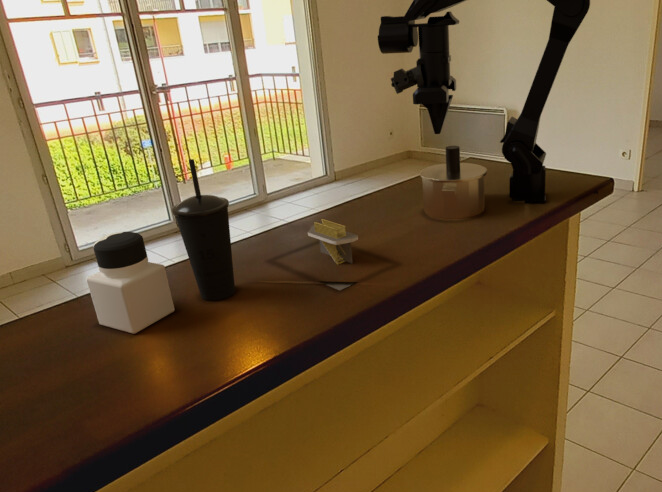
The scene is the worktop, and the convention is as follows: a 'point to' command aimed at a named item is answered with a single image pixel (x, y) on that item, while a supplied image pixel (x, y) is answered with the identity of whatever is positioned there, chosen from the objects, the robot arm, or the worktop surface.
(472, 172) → the lid
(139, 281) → the medicine bottle
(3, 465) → the worktop surface
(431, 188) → the pot
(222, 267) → the drinking cup
